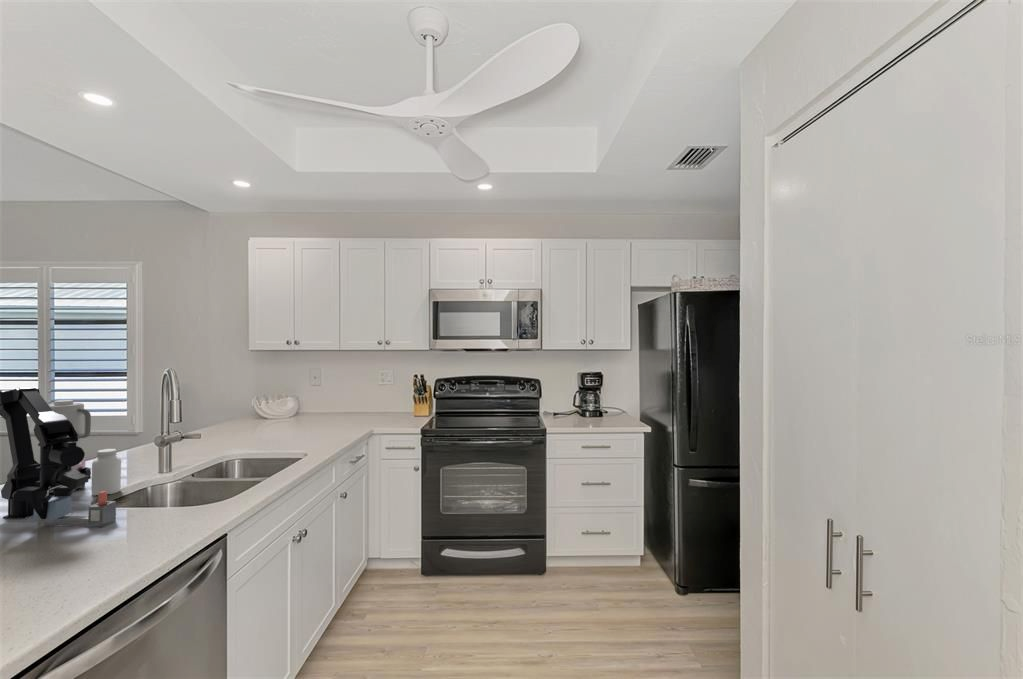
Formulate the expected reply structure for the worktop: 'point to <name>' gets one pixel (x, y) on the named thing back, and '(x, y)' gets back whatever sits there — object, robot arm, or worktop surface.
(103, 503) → the gauge button
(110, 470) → the pill bottle
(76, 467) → the blender
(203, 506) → the worktop surface
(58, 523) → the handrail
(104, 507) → the end cabinet
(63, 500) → the pale blue box
